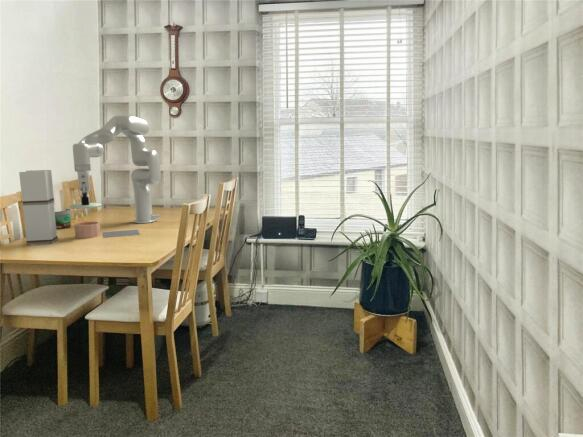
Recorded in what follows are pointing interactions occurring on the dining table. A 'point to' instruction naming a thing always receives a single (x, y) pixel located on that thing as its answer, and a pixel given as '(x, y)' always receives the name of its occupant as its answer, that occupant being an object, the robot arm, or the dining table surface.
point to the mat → (120, 233)
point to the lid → (80, 206)
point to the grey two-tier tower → (38, 206)
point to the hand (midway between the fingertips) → (85, 204)
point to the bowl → (87, 229)
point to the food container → (63, 219)
